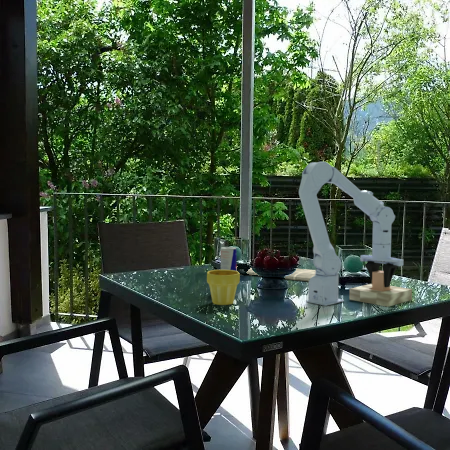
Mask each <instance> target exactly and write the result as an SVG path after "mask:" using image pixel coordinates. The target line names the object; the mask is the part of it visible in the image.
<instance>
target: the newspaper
mask: <svg viewBox="0 0 450 450" xmlns="http://www.w3.org/2000/svg"><path fill="white" fill-rule="evenodd" d="M315 271H316V269H304V268H297V269H296V271H295V272H294V273H293V274H291V275H289V276H286V277H285V279H284V280H291V281H301V282H308V283H309V280H310V278H312V277H313V276H315V274H316V273H315ZM246 273H247V274H249V275H248V276H252V275H258V274H257V273H255V272H254V271H253V270H252V268H250V269H249V270H248V271H247V272H246ZM257 277H260V276H259V275H258V276H257Z"/></svg>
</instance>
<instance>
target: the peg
mask: <svg viewBox="0 0 450 450" xmlns="http://www.w3.org/2000/svg"><path fill="white" fill-rule="evenodd" d="M371 284H372V290H377V291H383V292H384V291H388V290H390V287H384V272H383V270H378V271H375V272H372V282H371Z"/></svg>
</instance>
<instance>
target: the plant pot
mask: <svg viewBox="0 0 450 450" xmlns="http://www.w3.org/2000/svg"><path fill="white" fill-rule="evenodd" d="M240 276H241V274H240V273H239V272H238V271H234V270H221V269H212V270H208V271H207V272H206V283H207V284H208V286H209V290H210V296H211V301H212V304H214V305H218V306H229V305H233V304H234V302H235V297H236V293H237V287H238V285H239V284H240V279H241V277H240Z"/></svg>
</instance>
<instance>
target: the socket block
mask: <svg viewBox="0 0 450 450" xmlns="http://www.w3.org/2000/svg"><path fill="white" fill-rule="evenodd" d="M348 295H349V299H348V300H350V301H356V302H361V303H366V304H371V305H377V306H381V307H382V306H383V307H387V308H388V307H391V306H392V307H393V306H395V305H400V304H403V303H407V302H409V301H412V300H413V289H412V288H407V287H406V288H405V287H400V286H393V285H390V290H388V291H384V292H383V291H377V290H372V283H368V284H364V285H360V286H356V287H352V288H349V294H348Z"/></svg>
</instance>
